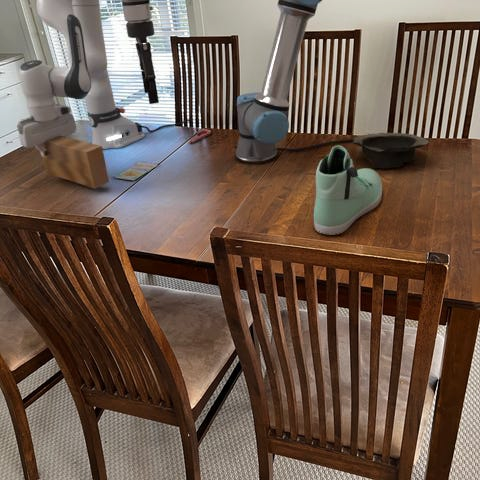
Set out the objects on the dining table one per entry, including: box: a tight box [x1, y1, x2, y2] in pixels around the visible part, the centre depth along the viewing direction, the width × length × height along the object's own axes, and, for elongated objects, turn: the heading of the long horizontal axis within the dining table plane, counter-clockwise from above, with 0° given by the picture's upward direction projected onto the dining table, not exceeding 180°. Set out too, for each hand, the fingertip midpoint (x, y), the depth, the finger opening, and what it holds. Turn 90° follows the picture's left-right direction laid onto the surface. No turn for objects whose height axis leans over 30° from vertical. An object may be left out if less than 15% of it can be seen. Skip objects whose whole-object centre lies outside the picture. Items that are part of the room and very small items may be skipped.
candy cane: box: [188, 128, 212, 145], centre depth 200 cm, size 6×15×2 cm, turn 145°
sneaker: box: [313, 145, 383, 236], centre depth 133 cm, size 14×35×20 cm, turn 152°
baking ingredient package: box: [114, 161, 159, 181], centre depth 173 cm, size 9×1×15 cm
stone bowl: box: [352, 132, 430, 170], centre depth 165 cm, size 25×25×9 cm
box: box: [41, 136, 110, 189], centre depth 162 cm, size 26×6×13 cm, turn 54°
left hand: (53, 152), depth 167 cm, fingers closed on box, 6 cm apart
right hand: (151, 97), depth 145 cm, fingers open, 13 cm apart
